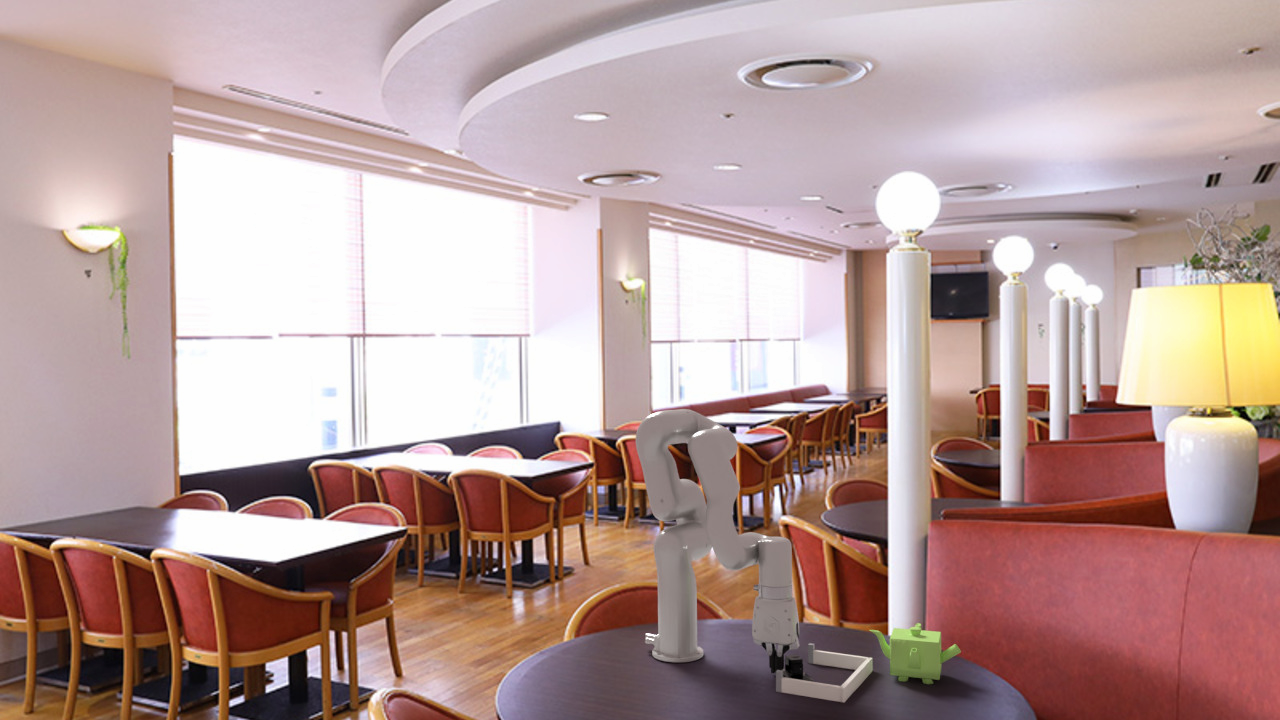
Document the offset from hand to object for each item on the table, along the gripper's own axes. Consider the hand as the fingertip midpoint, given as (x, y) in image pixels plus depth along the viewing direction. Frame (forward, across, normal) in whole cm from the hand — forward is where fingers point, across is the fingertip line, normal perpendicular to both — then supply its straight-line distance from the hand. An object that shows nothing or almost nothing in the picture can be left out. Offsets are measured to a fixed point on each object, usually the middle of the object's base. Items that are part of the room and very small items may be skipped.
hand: (776, 671), depth 219 cm
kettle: (+1, +28, +13) cm, 31 cm away
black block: (+1, +4, +2) cm, 4 cm away
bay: (+1, +11, +1) cm, 11 cm away
